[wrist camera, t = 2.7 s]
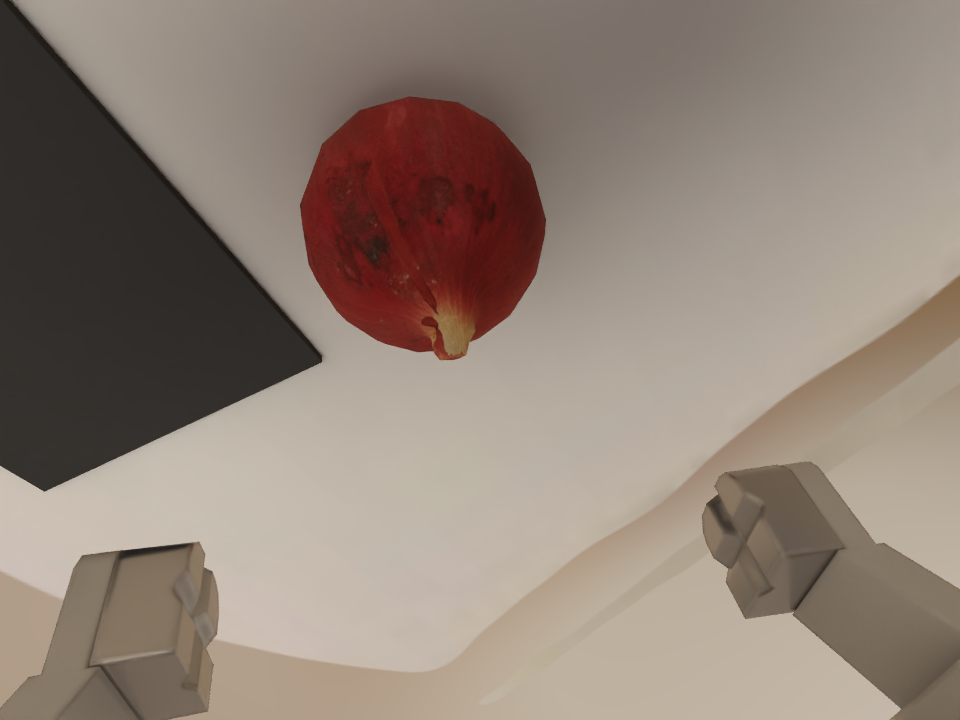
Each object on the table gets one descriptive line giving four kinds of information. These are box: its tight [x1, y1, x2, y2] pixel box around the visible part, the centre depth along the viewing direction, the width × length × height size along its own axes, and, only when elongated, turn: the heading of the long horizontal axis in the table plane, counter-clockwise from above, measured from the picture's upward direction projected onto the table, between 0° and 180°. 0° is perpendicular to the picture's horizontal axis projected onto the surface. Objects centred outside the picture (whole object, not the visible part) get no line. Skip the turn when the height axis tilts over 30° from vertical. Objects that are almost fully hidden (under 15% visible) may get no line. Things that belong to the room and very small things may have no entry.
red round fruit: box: [300, 97, 546, 360], centre depth 16 cm, size 6×6×8 cm
